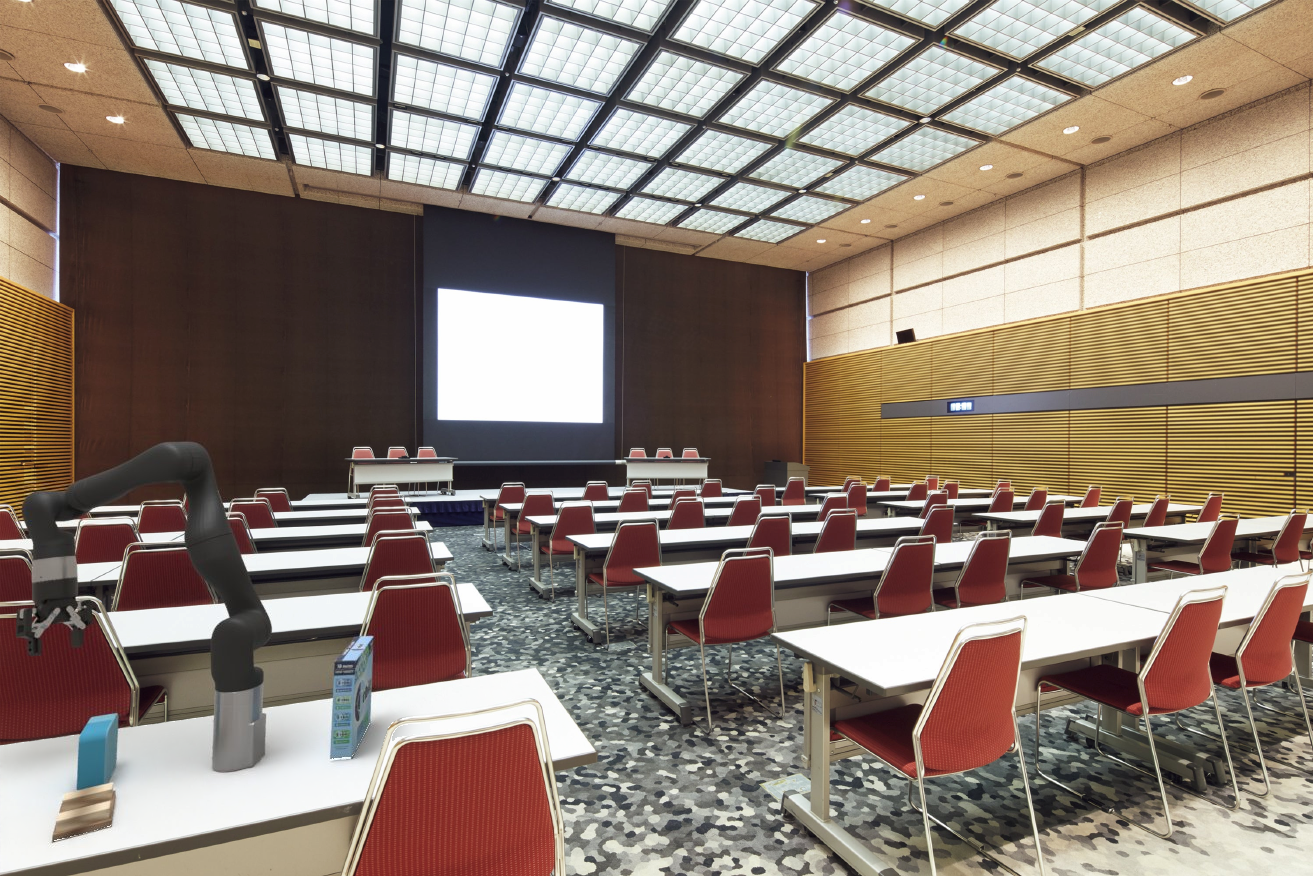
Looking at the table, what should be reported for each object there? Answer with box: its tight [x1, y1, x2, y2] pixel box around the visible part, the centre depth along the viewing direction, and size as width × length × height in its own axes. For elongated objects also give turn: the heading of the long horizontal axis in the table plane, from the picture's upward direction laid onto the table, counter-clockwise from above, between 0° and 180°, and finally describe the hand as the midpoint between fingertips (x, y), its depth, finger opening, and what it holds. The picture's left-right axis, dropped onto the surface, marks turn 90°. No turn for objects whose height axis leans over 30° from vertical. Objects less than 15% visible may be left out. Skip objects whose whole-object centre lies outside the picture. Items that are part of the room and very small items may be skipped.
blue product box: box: [329, 635, 375, 760], centre depth 153 cm, size 20×5×23 cm, turn 13°
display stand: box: [51, 781, 117, 842], centre depth 120 cm, size 8×13×3 cm, turn 38°
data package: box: [76, 712, 119, 791], centre depth 134 cm, size 12×4×12 cm, turn 32°
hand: (56, 651), depth 141 cm, fingers open, 8 cm apart
